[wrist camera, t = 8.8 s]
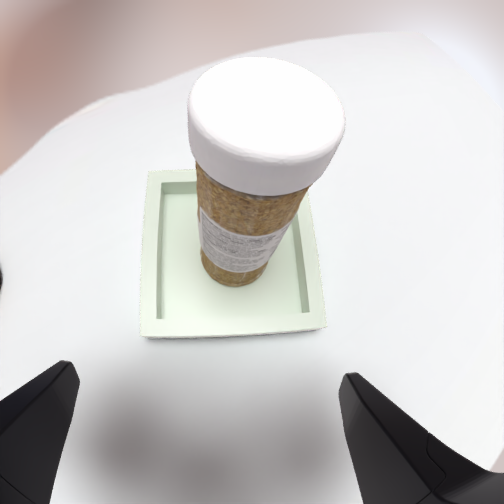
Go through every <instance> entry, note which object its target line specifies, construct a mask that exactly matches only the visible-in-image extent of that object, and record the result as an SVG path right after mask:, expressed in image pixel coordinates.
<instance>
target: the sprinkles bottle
mask: <svg viewBox="0 0 504 504" xmlns="http://www.w3.org/2000/svg"><path fill="white" fill-rule="evenodd" d="M187 109H188V135H189V143H190V148H191V152H192V154H193V156H194V158H195V160H196V176H197V184H196V190H197V203H198V209H197V219H198V229H199V239H200V244H201V249H200V256H201V262H202V264H203V267H204V269H205V270H206V272H207V273H208V274H209V275H210V277H211V278H212V279H214V280H216V281H217V282H219V283H221V284H224V285H226V286H232V287H239V286H244V285H247V284H250V283H252V282H254V281H255V280H256V279H258V278H259V277H260V276H261V275H262V273H263V272H264V270H265V269H266V266H267V264H268V260H269V259H270V258H271V256H272V255H273V253H274V252H275V250H276V248H277V247H278V245H279V243H280V241H281V240H282V238H283V236H284V234H285V233H286V231H287V229H288V227H289V226H290V224H291V222H292V221H293V219H294V217H295V216H296V214H297V212H298V210H299V206H300V203H301V201H302V200H303V197H304V196H305V194H306V192H307V191H308V189H309V187H310V186H311V185H312V184H313V183H314V182H315V181H316V180H317V179H318V178H320V176H321V175H322V174H323V173H324V171H325V170H326V168H327V166H328V165H329V163H330V161H331V159H332V158H333V156H334V154H335V152H336V150H337V148H338V146H339V144H340V142H341V140H342V137H343V134H344V131H345V113H344V109H343V106H342V104H341V102H340V100H339V98H338V97H337V95H336V94H335V92H334V91H333V90H332V89H331V88H330V87H329V86H328V85H327V84H326V83H325V82H324V81H323V80H322V79H320V78H319V77H318V76H316V75H315V74H313V73H311V72H310V71H308V70H306V69H304V68H302V67H300V66H298V65H295V64H292V63H290V62H286V61H283V60H278V59H273V58H264V57H245V58H238V59H233V60H229V61H226V62H223V63H221V64H218V65H216V66H214V67H212V68H211V69H209V70H208V71H206V72H205V73H204V74H203V75H202V76H200V77H199V78H198V80H197V81H196V82H195V84H194V85H193V87H192V89H191V91H190V94H189V98H188V108H187Z"/></svg>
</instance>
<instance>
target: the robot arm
mask: <svg viewBox="0 0 504 504" xmlns="http://www.w3.org/2000/svg"><path fill="white" fill-rule="evenodd" d="M79 385H80V380H79V377H78V374H77V372H76V370H75V367H74V365H73V364H72V362H69V361H64V360H61V361H59V362H58V363H56V364H55V365H53V366H52V367H50V368H49V369H47V370H46V371H44V372H43V373H41V374H40V375H38V376H37V377H35V378H34V379H32V380H31V381H29V382H28V383H26V384H25V385H23V386H22V387H20V388H19V389H17V390H16V391H14V392H13V393H11V394H10V395H8V396H7V397H5V398H4V399H3V400H1V401H0V504H49V503H50V499H51V494H52V490H53V485H54V481H55V477H56V473H57V469H58V465H59V461H60V458H61V454H62V451H63V447H64V444H65V440H66V437H67V434H68V431H69V427H70V424H71V421H72V417H73V412H74V407H75V403H76V398H77V394H78V389H79ZM339 401H340V407H341V413H342V419H343V426H344V432H345V437H346V441H347V444H348V448H349V451H350V455H351V459H352V462H353V466H354V470H355V473H356V477H357V481H358V485H359V488H360V492H361V496H362V500H363V504H504V473H495V472H490V471H488V470H485V469H483V468H481V467H480V466H478V465H476V464H475V463H473V462H471V461H470V460H468V459H466V458H465V457H463V456H462V455H460V454H458V453H457V452H455V451H454V450H452V449H451V448H449V447H448V446H446V445H445V444H444V443H442V442H441V441H440V440H439V439H437V438H436V437H435V436H433V435H432V434H431V433H428V431H427V430H426V429H425V428H423V427H422V426H421V425H420V424H419V423H417V422H416V421H415V420H414V419H412V418H411V417H410V416H409V415H408V414H406V413H405V412H404V411H403V410H402V409H400V408H399V407H398V406H397V405H396V404H394V403H393V402H392V401H391V400H390V399H388V398H387V397H386V396H385V395H384V394H382V393H381V392H380V391H379V390H378V389H376V388H375V387H374V386H373V385H372V384H370V383H369V382H368V381H367V380H366V379H365V378H363V377H362V376H361V375H360V374H359V373H356V372H354V373H346V374H345V375H344V377H343V380H342V383H341V386H340V389H339Z"/></svg>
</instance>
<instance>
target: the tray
mask: <svg viewBox="0 0 504 504" xmlns="http://www.w3.org/2000/svg"><path fill="white" fill-rule="evenodd" d="M196 184H197V176H196V169H189V170H162V171H149V172H148V180H147V189H146V199H145V209H144V221H143V234H142V251H141V274H140V336H141V337H145V338H215V337H237V336H255V335H269V334H282V333H294V332H304V331H314V330H318V329H322V328H325V327H327V322H326V313H325V304H324V296H323V288H322V280H321V273H320V265H319V258H318V251H317V244H316V238H315V231H314V225H313V219H312V213H311V207H310V201H309V195H308V191H307V192H306V194H305V196H304V197H303V200H302V201H301V203H300V206H299V210H298V212H297V214H296V216H295V217H294V219H293V221H292V222H291V224H290V226H289V227H288V229H287V231H286V233H285V234H284V236H283V238H282V240H281V241H280V243H279V245H278V247H277V248H276V250H275V252H274V253H273V255H272V256H271V258H270V259H269V260H268V264H267V266H266V269H265V270H264V272H263V273H262V275H261V276H260V277H259V278H258V279H256V280H255V281H254V282H252V283H250V284H247V285H244V286H239V287H232V286H226V285H224V284H221V283H219V282H217V281H216V280H214V279H212V278H211V277H210V275H209V274H208V273H207V272H206V270H205V269H204V267H203V264H202V262H201V256H200V249H201V244H200V239H199V229H198V219H197V209H198V203H197V190H196Z"/></svg>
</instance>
